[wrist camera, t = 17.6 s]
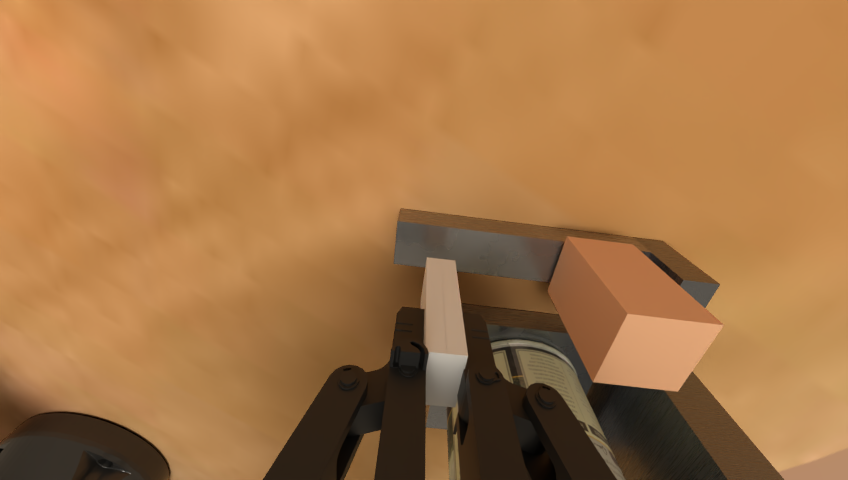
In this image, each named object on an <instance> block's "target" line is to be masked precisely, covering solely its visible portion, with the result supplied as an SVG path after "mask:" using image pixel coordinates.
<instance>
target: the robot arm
mask: <svg viewBox="0 0 848 480" xmlns="http://www.w3.org/2000/svg"><path fill="white" fill-rule="evenodd" d="M457 400H458V414H457V418H456V421H455V425H454V430H453V434H455V435H456V432H457V439H458V453H459V467H460V480H617V479H616V477H615V476H614V474H613V473H612V471H611V470H610V468H609V467H608V465H607V464H606V462H605V461H604V459H603V458H602V456H601V455H600V453H599V452H598V450H597V449H596V447H595V445H594V444H593V442H592V441H591V439H590V438H589V436H588V435H587V433H586V432H585V430H584V429H583V427H582V426H581V424H580V423H579V421H578V420H577V418H576V417H575V415H574V414H573V412H572V411H571V409H570V408H569V406H568V405H567V403H566V402H565V400H564V399H563V397H562V396H561V395H560V394H559V392H558V391H557V390H555V389H554V388H552V387H551V386H549V385H546V384H544V383H534V384H531V385H530V386H529V387H528V388H527V389H526V388H524V387H521V386H518V385H516V384H513V383H511V382H509V381H508V380H506V379H505V378H504V377H503V375H502V373H501V372H500V371H499V370H498V369H497V368H496V365H495V360H494V356H493V352H492V347H491V343H490V340H489V334H488V329H487V325H486V322H485V320H484V319H483V318H482V317H481V315H480V314H473V313H463V312H462V307H461V300H460V292H459V285H458V277H457V270H456V263H455V260H446V259H437V258H428V257H427V260H426V267H425V274H424V281H423V288H422V295H421V308H420V309H419V308H409V307H402V308H401V309H400V311H399V312H398V313H397V317H396V324H395V332H394V339H393V347H392V349H391V356H390V361H389V362H388V364H386V365H385V366H384V367H383V368H381V369H379V370H375V371H371V372H365V371H364V370H363V369H362V368H360V367H358V366H354V365H346V366H342V367H340V368H338V369H336V370H335V371H334V372H333V373H332V374H331V375H330V376H329V378H328V379H327V381H326V383H325V384H324V386H323V387H322V389H321V390H320V392H319V393H318V395H317V397H316V398H315V400H314V401H313V403H312V404H311V406H310V407H309V409H308V410H307V412H306V414H305V415H304V417H303V418H302V420H301V421H300V423H299V424H298V426H297V428H296V429H295V431H294V432H293V434H292V435H291V437H290V438H289V440H288V441H287V443H286V445H285V446H284V448H283V449H282V451H281V452H280V454H279V455H278V457H277V459H276V460H275V462H274V463H273V465H272V466H271V468H270V469H269V471H268V472H267V474H266V476H265V477H264V479H263V480H344V478H345V476H346V474H347V472H348V469H349V467H350V465H351V463H352V460H353V458H354V456H355V453H356V451H357V449H358V447H359V444H360V442H361V440H362V438H363V435H364V434H365V433H370V432H374V431H378V430H381V434H380V441H379V449H378V456H377V464H376V471H375V479H374V480H425V417H426V405H434V406H444V407H456V403H457ZM168 479H169V470H168V467H167V464H166V463H165V461H164V459H163V458H162V457H161V455H160V454H159V453H158V452H157V451H156V450H155V449H154V448H153V447H152V446H150V445H149V444H148V443H146V442H145V441H144V440H142V439H141V438H139V437H138V436H136V435H134V434H132V433H131V432H129V431H127V430H125V429H123V428H120V427H118V426H116V425H113V424H111V423H108V422H105V421H102V420H99V419H95V418H91V417H87V416H82V415H76V414H67V413H49V414H42V415H38V416H34V417H32V418H30V419H28V420H26V421H25V422H24V423H23V424H21V425H20V426H19V427H18V428H17V429H16V430H14V431H13V432H12V433H11V434H10V435H9V436H7V437H6V438H5V439H4V440H3V441H2V442H1V443H0V480H168Z"/></svg>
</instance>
